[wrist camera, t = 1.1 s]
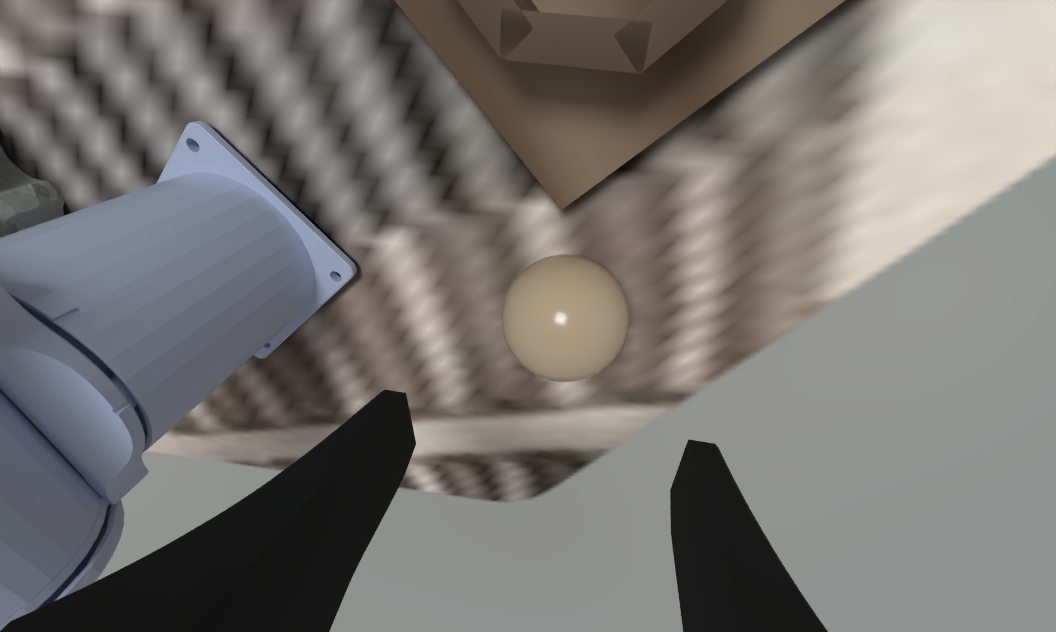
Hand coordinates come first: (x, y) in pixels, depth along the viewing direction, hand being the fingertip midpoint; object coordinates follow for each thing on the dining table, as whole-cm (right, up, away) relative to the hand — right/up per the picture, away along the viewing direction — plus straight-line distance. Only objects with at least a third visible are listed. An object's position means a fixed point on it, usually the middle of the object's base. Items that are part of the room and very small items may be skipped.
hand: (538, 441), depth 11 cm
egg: (+1, +3, +5) cm, 6 cm away
